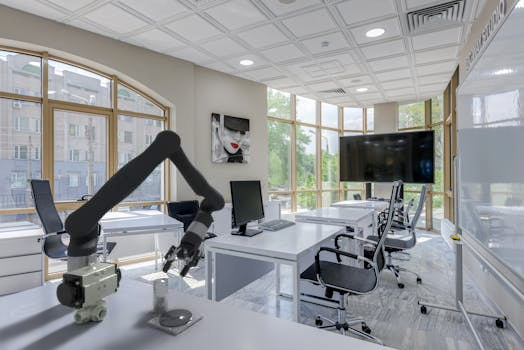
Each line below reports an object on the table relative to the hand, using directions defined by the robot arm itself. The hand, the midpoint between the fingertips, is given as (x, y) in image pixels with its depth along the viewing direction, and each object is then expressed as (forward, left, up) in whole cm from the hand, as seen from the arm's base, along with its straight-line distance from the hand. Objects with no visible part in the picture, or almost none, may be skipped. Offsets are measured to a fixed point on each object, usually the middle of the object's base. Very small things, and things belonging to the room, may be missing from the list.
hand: (172, 273), depth 107 cm
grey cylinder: (0, -6, -11) cm, 12 cm away
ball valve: (-14, -21, -11) cm, 27 cm away
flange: (+10, -9, -11) cm, 17 cm away
